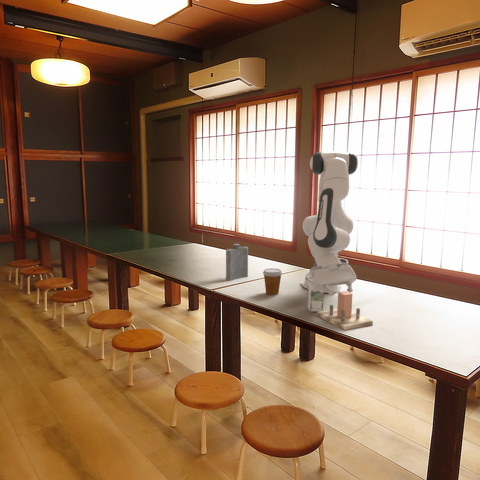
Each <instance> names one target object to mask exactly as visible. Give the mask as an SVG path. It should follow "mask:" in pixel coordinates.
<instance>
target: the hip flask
mask: <svg viewBox="0 0 480 480" xmlns="http://www.w3.org/2000/svg"><path fill="white" fill-rule="evenodd" d="M232 246H233V248H229V249H228V248H227V249H226V250H225V281H226V282H232V281H235V280H239V279H242V278H243V279H244V278H248V276H249V247H248V246H240V243H233V245H232Z"/></svg>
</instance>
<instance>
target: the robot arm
mask: <svg viewBox="0 0 480 480" xmlns="http://www.w3.org/2000/svg"><path fill="white" fill-rule="evenodd" d="M358 165H359V160H358V156H357V154H356V153H355V152H351V151H339V150H338V151H336V150H335V151H324V152H321V151H318V152H317V151H316V152H314V153H313V154H312V156H311V158H310V159H309V167H310V169H311V172H312V173H313V174H315V175H319V180H318V181H319V183H318V197H317V202H318V209H317V214H315V215H309V216H307V217H305V218H304V220H303V221H302V230H303V233H304V234H305V235H306V236H308V238H307V246H308V248H309V251H310V253H311V255H312V257H313V258H314V261H315V262H313V263H312V265H313V266H312V267H311V268H310V269H309V271H308V272H307V273H306V274H305V278H304V279H305V280H304V281H301V282H300V286H302V287H304V288H306V289H307V290H308V280H309V277H312V280H313V283H314V286H315V287H316V288H322V287H323V288H324V293H323V294H325V293H328V294H329V297H330V296H334V295H335V293H338V292H340V289H341V286H342V285H346V287H347V289H346V291H347V292H349V293H353V291H354V290H353V288H352V287H353V283H355V281H356V280H357V274H356V273H355V270H354V269H353V268H352V266H351V265H349V260H348V259H345V258H341V257H339V253H340V252H342V251H344V250H346V249H347V248H348V247H349V245H350V241H351V237H350V234H351V233H352V231H353V230H354V222H353V219H352V218H351V217H350V216H349V215H348V214H347V213H346V212H345V210H344V208H343V205H342V204H343V203H342V201H343V200H345V198H347V196H348V195H349V191H350V175H353V174H354V173H355V172H356V171H357V169H358Z"/></svg>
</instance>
